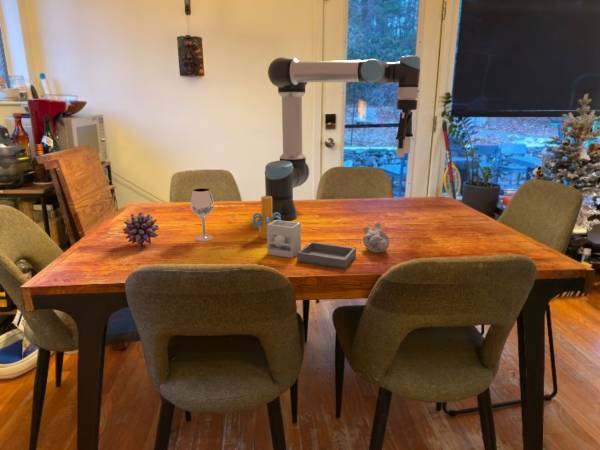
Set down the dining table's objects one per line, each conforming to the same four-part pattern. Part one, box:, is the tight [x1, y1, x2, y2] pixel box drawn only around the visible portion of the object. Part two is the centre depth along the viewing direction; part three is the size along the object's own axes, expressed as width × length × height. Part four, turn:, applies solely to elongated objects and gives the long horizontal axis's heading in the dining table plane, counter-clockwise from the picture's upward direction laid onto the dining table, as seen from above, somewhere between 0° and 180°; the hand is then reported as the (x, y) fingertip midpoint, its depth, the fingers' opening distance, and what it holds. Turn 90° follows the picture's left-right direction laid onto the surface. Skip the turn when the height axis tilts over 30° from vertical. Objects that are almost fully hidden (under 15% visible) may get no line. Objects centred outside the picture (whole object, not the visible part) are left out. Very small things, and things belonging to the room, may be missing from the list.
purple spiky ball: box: [122, 211, 160, 247], centre depth 147 cm, size 12×12×12 cm
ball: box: [273, 235, 285, 247], centre depth 142 cm, size 4×4×4 cm
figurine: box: [362, 221, 390, 254], centre depth 143 cm, size 8×10×12 cm
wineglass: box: [190, 187, 215, 242], centre depth 154 cm, size 8×8×18 cm
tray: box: [296, 241, 357, 270], centre depth 136 cm, size 16×12×3 cm
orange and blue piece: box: [251, 195, 281, 240], centre depth 157 cm, size 12×10×15 cm
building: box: [266, 220, 302, 259], centre depth 141 cm, size 9×6×10 cm
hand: (403, 155), depth 171 cm, fingers open, 13 cm apart
